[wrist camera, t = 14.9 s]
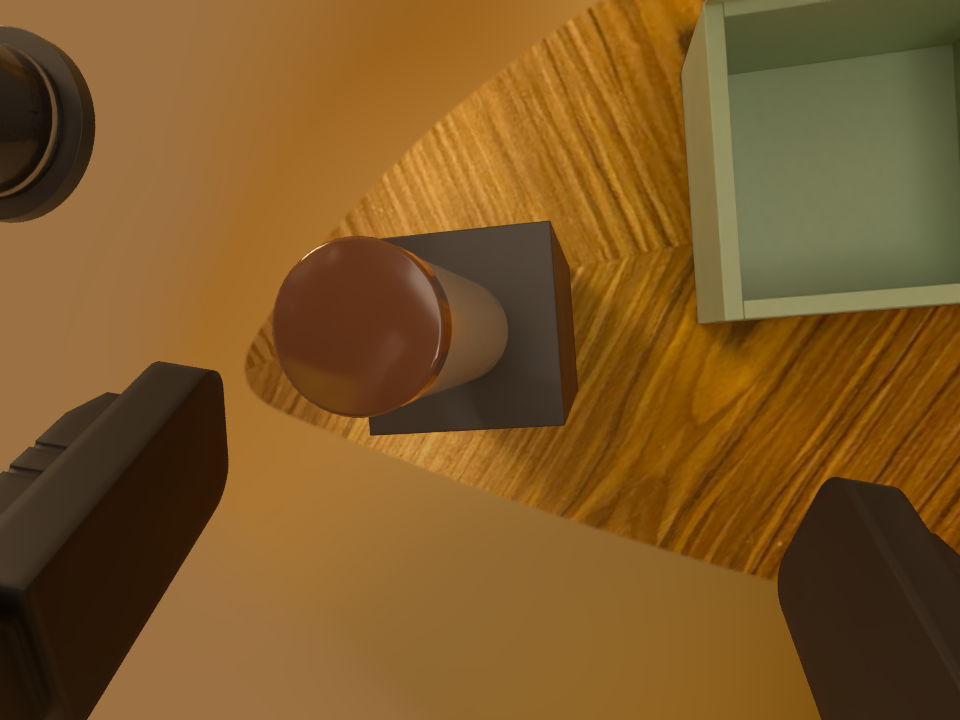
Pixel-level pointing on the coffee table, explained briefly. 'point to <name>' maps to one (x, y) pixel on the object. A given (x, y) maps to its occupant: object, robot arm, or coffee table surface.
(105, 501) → the robot arm
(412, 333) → the canister
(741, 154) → the chest
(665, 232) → the coffee table surface
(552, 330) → the block
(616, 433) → the coffee table surface
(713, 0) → the chest lid
